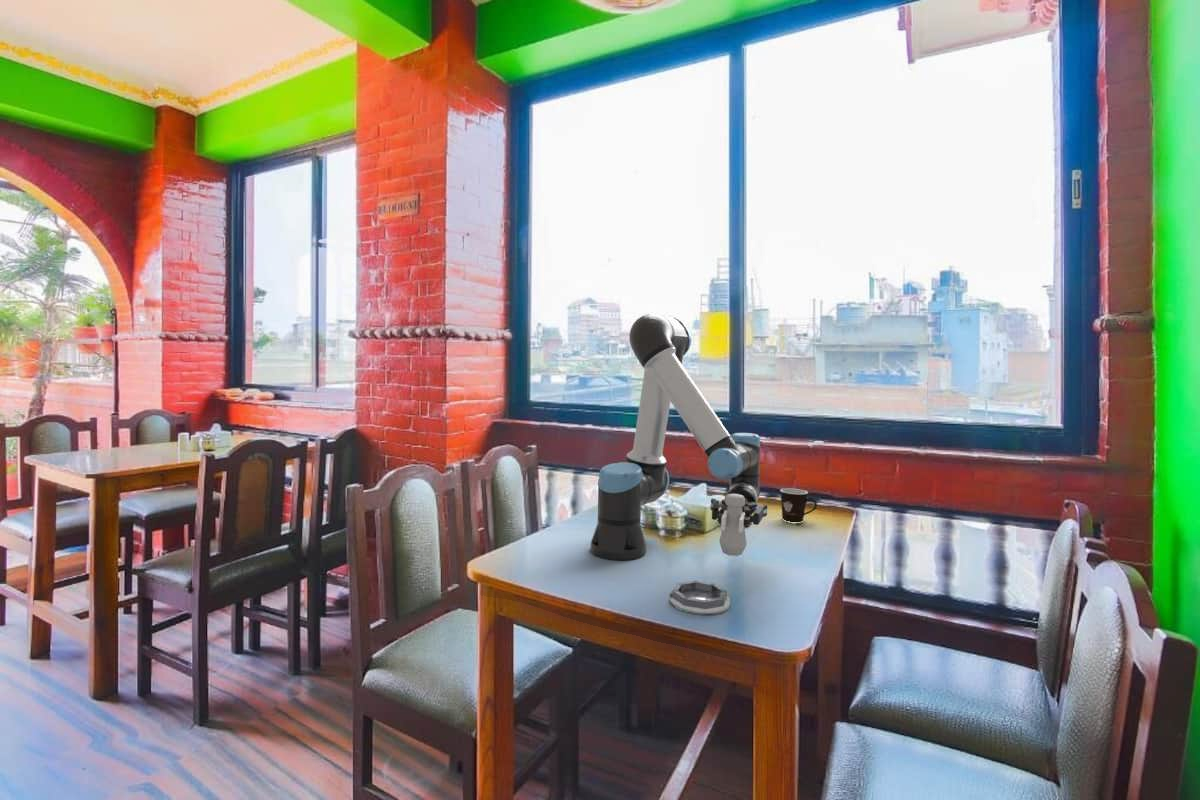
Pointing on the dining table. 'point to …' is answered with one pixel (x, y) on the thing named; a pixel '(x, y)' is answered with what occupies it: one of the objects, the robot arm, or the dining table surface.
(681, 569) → the dining table surface
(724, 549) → the salt shaker
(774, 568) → the dining table surface
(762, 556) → the dining table surface
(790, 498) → the coffee mug
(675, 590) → the steel collar
